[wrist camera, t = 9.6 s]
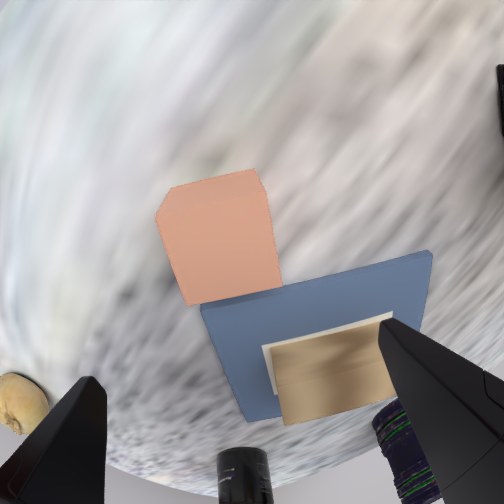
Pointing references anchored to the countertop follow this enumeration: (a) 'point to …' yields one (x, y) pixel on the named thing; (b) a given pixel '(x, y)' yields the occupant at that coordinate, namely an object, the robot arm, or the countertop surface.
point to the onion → (21, 404)
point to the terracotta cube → (220, 237)
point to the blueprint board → (308, 320)
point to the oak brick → (330, 374)
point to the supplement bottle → (244, 477)
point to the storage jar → (405, 456)
